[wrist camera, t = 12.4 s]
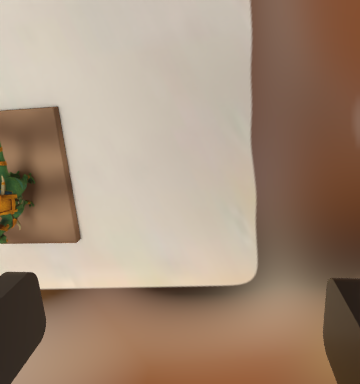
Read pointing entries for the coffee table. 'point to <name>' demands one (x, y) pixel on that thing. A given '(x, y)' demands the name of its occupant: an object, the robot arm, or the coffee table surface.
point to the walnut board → (40, 176)
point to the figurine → (11, 197)
